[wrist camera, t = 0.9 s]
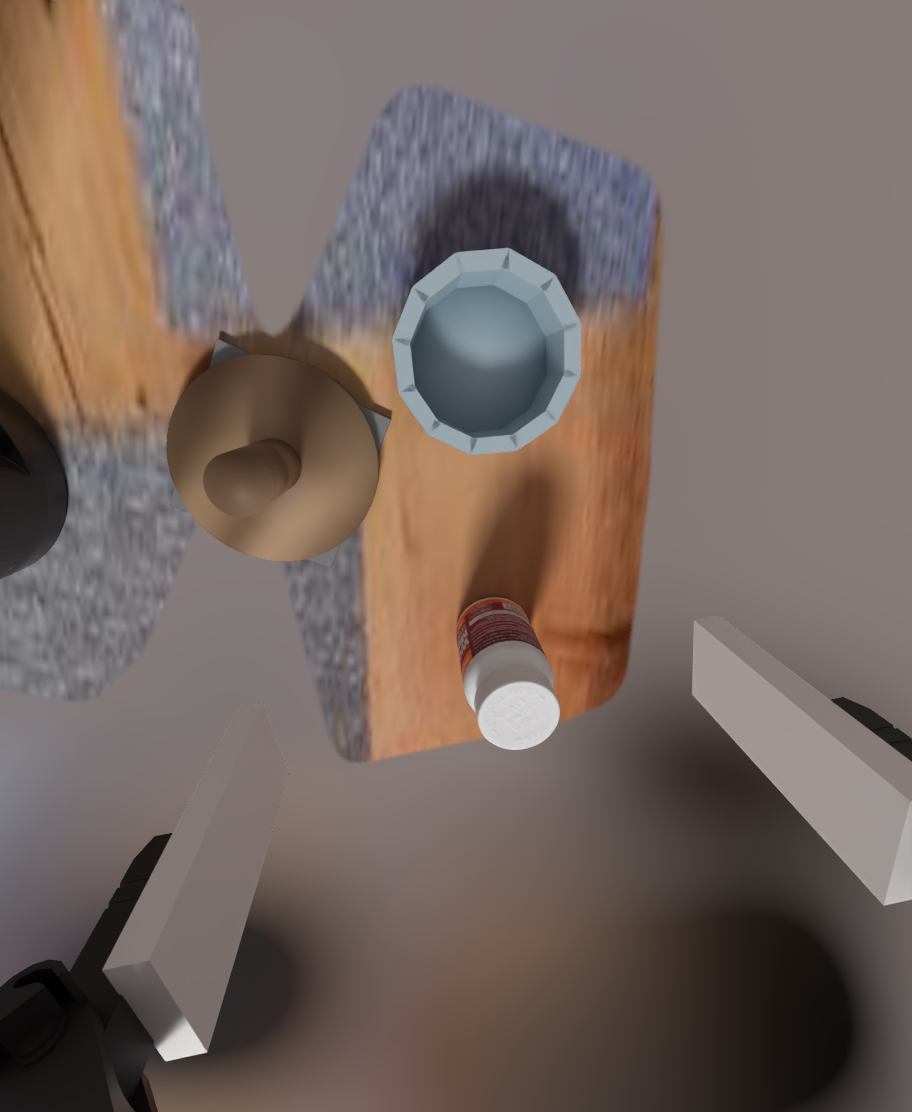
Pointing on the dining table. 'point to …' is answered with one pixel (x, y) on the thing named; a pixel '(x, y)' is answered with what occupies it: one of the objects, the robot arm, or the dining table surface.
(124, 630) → the dining table surface
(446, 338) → the bowl
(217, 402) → the lid
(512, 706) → the pill bottle
